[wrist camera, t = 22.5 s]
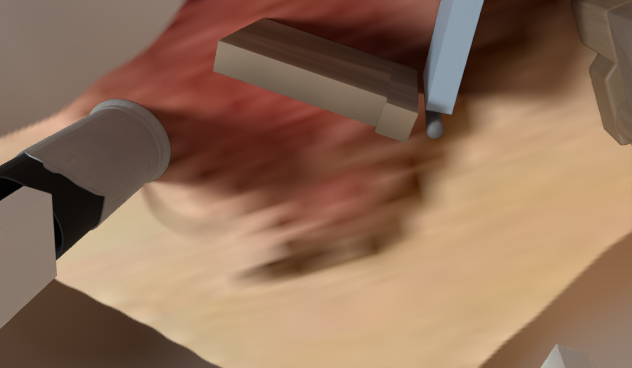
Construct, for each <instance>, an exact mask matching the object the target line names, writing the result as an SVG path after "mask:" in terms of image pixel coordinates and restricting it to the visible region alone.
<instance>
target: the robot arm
mask: <svg viewBox="0 0 632 368" xmlns="http://www.w3.org/2000/svg"><path fill="white" fill-rule="evenodd" d="M56 276H57V270H56V255H55V240H54V225H53V210H52V195H51V194H49V193H46V192H43V191H39V190H36V189H32V188H29V187H26V186H23V187H22V188H20V189H18V190H17V191H15V192H14V193H12V194H10V195H9V196H7V197H6V198H4V199H2V200H1V201H0V328H1V327H2V326H3V325H4V324H6V323H7V322H8V321H9V320H10V319H11V318H12V317H13V316H14V315H15V314H16V313H17V312H18V311H19V310H20V309H22V307H24V306H25V305H26V304H27V303H28V302H29V301H30V300H31V299H32V298H33V297H34V296H35V295H36V294H37V293H39V292H40V291H41V290H42V289H43V288H44V287H45V286H46V285H47V284H48V283H49V282H50V281H51V280H52V279H54V278H55V277H56ZM541 368H594V366H593V363H592V361H591V358H590V356H589V354H588V353H586V352H583V351H580V350H576V349H573V348H570V347H566V346H563V345H559V344H556V345H555V347H554V349H553V350H552V352H551V353H550V355H549V356H548V358H547V359H546V361H545V362H544V364H543V365H542V367H541Z"/></svg>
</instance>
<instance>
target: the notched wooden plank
mask: <svg viewBox="0 0 632 368" xmlns="http://www.w3.org/2000/svg"><path fill="white" fill-rule="evenodd" d="M213 71H214V72H217V73H220V74H223V75H226V76H229V77H232V78H235V79H238V80H241V81H243V82H246V83H249V84H252V85H255V86H258V87H261V88H264V89H267V90H270V91H273V92H276V93H279V94H282V95H284V96H287V97H290V98H293V99H296V100H299V101H302V102H305V103H308V104H311V105H314V106H317V107H320V108H322V109H325V110H328V111H331V112H334V113H337V114H340V115H343V116H346V117H349V118H352V119H355V120H358V121H360V122H363V123H366V124H369V125H372V126H375V127H376V130H375V133H378V134H381V135H384V136H387V137H390V138H393V139H396V140H399V141H402V142H404V143H406V142H407V139H408V137H409V134H410V132H411V130H412V127H413V125H414V123H415V120H416V118H417V115H418V87H417V69H414V68H411V67H408V66H405V65H402V64H399V63H396V62H393V61H390V60H387V59H384V58H381V57H378V56H375V55H372V54H369V53H366V52H363V51H360V50H357V49H354V48H351V47H349V46H346V45H343V44H340V43H337V42H334V41H331V40H328V39H325V38H322V37H319V36H316V35H313V34H310V33H307V32H304V31H301V30H298V29H295V28H292V27H289V26H286V25H283V24H280V23H277V22H274V21H272V20H269V19H266V18H262V19H260V20H258V21H256V22H254V23H252V24H250V25H248V26H246V27H244V28H242V29H240V30H238V31H236V32H234V33H232V34H230V35H228V36H226V37H224V38H223V39H221V40H219V41H218V46H217V52H216V58H215V63H214V69H213ZM424 100H425V93H424ZM425 114H426V128H427V134H428V136H429V137H431V138H438V137H440V136H441V135H442V134H443V125H442V119H441V112H436V111H430V110H426V106H425Z"/></svg>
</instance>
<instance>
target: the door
mask: <svg viewBox="0 0 632 368" xmlns="http://www.w3.org/2000/svg"><path fill="white" fill-rule="evenodd" d="M483 1H484V0H441V3H440V7H439V11H438V15H437V19H436V23H435V27H434V32H433V36H432V40H431V44H430V48H429V52H428V56H427V60H426V64H425V69H424V73H423V80H424V93H425V106H426V110H430V111H436V112H441V113H446V114H452V110H453V107H454V103H455V100H456V96H457V93H458V89H459V86H460V82H461V79H462V75H463V72H464V68H465V65H466V61H467V58H468V54H469V51H470V47H471V43H472V40H473V36H474V33H475V29H476V26H477V22H478V19H479V15H480V12H481V8H482V5H483Z"/></svg>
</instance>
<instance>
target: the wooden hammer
mask: <svg viewBox="0 0 632 368" xmlns="http://www.w3.org/2000/svg"><path fill="white" fill-rule="evenodd" d="M571 4H572V8H573V12H574V15H575V19H576V23H577V27H578V31H579V35H580V39H581V42H582V43H583V44H584V45H586V46H587V47H589V48H591V49H592V50H594V51H596V52H597V53H598V55H597V56H596V58H595V60H594V61H593V63H592V64H591V66H590V68H589V73H590V77H591V80H592V84H593V88H594V92H595V96H596V100H597V104H598V107H599V111H600V115H601V119H602V123H603V127H604V129H605V130H606V131H607V132H608V133H609V134H610V135H611V136H612V137H613V138H614V139H615V140H616V141H617V142H618V143H619V144H620V145H627V144H630V143H631V144H632V0H572V3H571Z"/></svg>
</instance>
